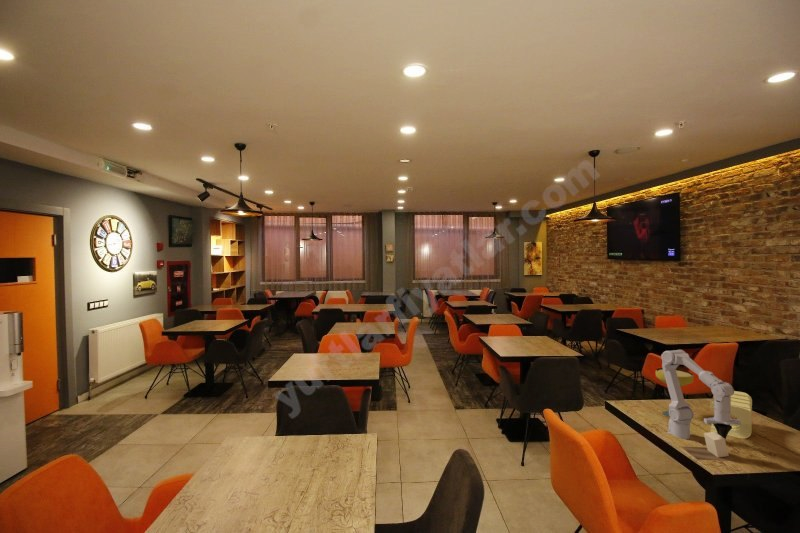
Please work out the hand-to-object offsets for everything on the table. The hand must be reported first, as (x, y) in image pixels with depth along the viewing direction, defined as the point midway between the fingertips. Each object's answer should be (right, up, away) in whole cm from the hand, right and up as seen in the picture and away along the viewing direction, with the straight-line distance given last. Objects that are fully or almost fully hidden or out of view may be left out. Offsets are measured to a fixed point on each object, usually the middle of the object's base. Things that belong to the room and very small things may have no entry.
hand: (722, 439), depth 179 cm
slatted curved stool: (+27, -8, +27) cm, 39 cm away
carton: (-2, -6, 0) cm, 6 cm away
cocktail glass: (+12, -7, +48) cm, 50 cm away
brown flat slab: (-6, -8, +1) cm, 10 cm away
